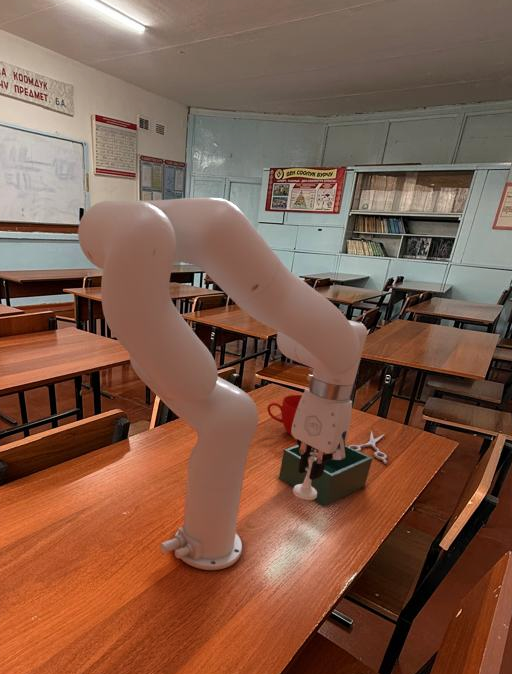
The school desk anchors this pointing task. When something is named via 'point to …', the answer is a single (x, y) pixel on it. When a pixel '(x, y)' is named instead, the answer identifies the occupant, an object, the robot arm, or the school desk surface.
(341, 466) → the bin
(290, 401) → the ceramic cup
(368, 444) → the scissors
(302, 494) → the chess piece
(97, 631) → the school desk surface
